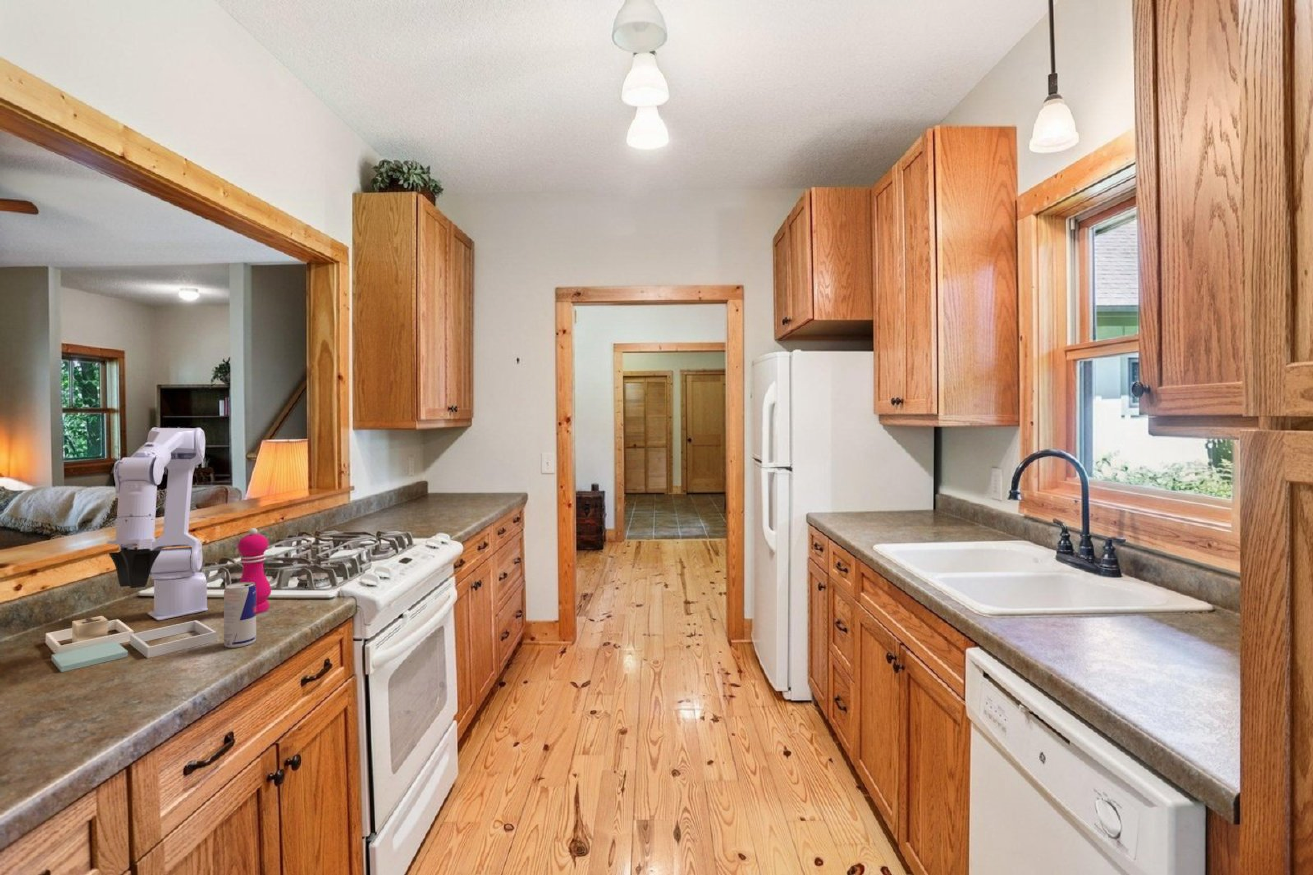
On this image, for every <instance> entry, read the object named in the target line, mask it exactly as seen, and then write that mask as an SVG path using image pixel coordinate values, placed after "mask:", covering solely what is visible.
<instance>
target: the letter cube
mask: <svg viewBox="0 0 1313 875" xmlns="http://www.w3.org/2000/svg"><path fill="white" fill-rule="evenodd" d="M108 621H109V619H107V618H106V617H104V615H97V616H94V617H88V618H83V619H82V618H81V619H77V620H73V621H72V620H71V628H72V639H71V643H75V642H80V641H85V640H89V639H94V638H99V637H104V636H109V635H108V634H109V633H108V632H109V631H108Z"/></svg>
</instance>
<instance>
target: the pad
mask: <svg viewBox="0 0 1313 875" xmlns="http://www.w3.org/2000/svg"><path fill="white" fill-rule="evenodd" d="M127 657H129V650H127V649H126V648H124V647H123V646H122V645H121V643H120V644H118V643H117V642H116V641H113V642H109V643H104V644H99V645H95V646H90V647H86V648H81V649H76V650H72V651H67V652H62V653H58V654H55V653H53V654H51V662H53V664H54V665H55V667H56V668H57V669H58V670H59V671H60V672H61V673H65V672H67V671H72V670H77V669H81V668H82V669H83V668H85V667H90V666H94V665H98V664H102V663H103V664H104V663H107V662H111V661H115V660H119V659H123V658H127Z"/></svg>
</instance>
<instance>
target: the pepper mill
mask: <svg viewBox="0 0 1313 875" xmlns="http://www.w3.org/2000/svg"><path fill="white" fill-rule="evenodd" d="M268 541H269V540H268V539H267V538H266V536H265V535H262V534H259V532H258V529H257V528H255V527H254V528H253V527H252V528H250V529H249V530H248V535H245V536H243V537H242V538H240V540H239V541H238V544H237V551H239V553H240V554H241V555H240V561H239V562H240V563H242V575H241V577H240V580H239V581H238V583H241V582H253V583H255V586H256V614H259V613H260V614H261V613H263V612H266V611H268V610H269V606H270V605H269V604H270V602H269V600H267V599H268V598H270V595H271V594H272V590H271V589H272V588H271V584H270V582H269V580H268V578H267V576H266V575H265V570H264V561H265V560H266V559H267V558H266V553H265V552H266V551H267V549H268V547H269V542H268Z"/></svg>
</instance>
